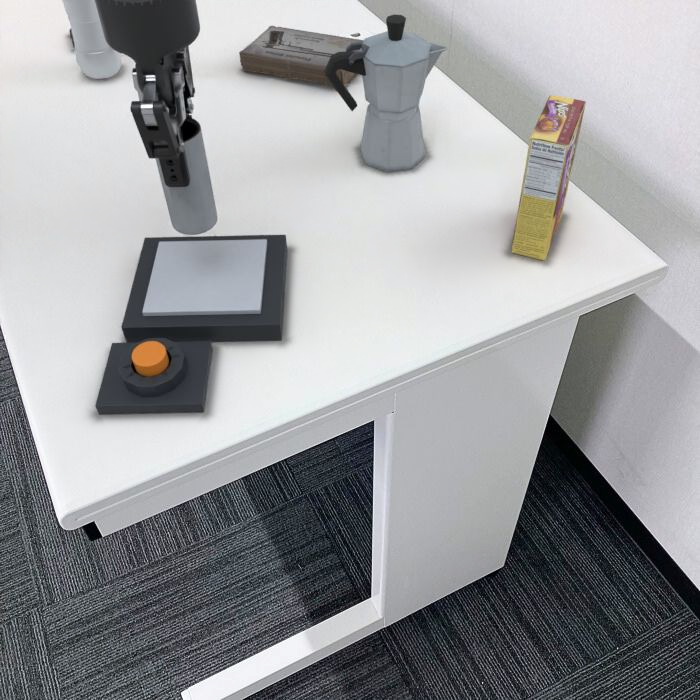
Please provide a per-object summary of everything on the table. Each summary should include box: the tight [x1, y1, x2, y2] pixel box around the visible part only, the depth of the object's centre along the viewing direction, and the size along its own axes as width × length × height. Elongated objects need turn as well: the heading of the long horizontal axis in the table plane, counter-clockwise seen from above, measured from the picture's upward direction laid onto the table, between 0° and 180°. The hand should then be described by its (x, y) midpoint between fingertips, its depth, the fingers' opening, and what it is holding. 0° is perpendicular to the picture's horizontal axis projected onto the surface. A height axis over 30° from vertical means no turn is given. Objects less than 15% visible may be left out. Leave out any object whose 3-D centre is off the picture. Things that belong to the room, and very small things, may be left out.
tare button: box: [132, 341, 169, 377], centre depth 70 cm, size 3×3×2 cm
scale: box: [121, 234, 288, 343], centre depth 80 cm, size 16×14×3 cm
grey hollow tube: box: [154, 117, 218, 236], centre depth 69 cm, size 4×4×10 cm
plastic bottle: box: [61, 0, 123, 80], centre depth 106 cm, size 6×7×20 cm
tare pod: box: [95, 338, 214, 415], centre depth 72 cm, size 10×8×3 cm
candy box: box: [511, 94, 587, 261], centre depth 81 cm, size 9×4×15 cm, turn 157°
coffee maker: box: [324, 13, 448, 173], centre depth 91 cm, size 15×9×18 cm, turn 100°
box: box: [238, 25, 364, 87], centre depth 112 cm, size 11×17×3 cm, turn 66°
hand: (182, 167), depth 68 cm, fingers closed on grey hollow tube, 4 cm apart
